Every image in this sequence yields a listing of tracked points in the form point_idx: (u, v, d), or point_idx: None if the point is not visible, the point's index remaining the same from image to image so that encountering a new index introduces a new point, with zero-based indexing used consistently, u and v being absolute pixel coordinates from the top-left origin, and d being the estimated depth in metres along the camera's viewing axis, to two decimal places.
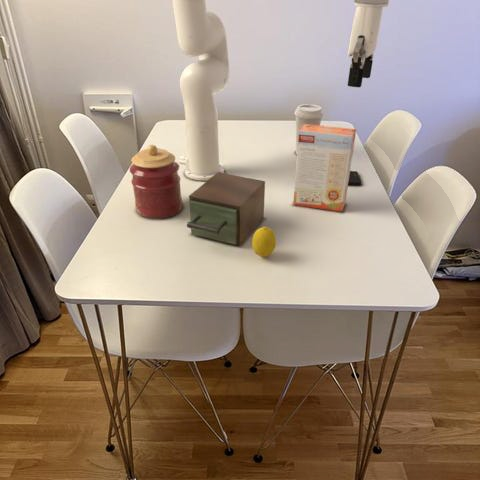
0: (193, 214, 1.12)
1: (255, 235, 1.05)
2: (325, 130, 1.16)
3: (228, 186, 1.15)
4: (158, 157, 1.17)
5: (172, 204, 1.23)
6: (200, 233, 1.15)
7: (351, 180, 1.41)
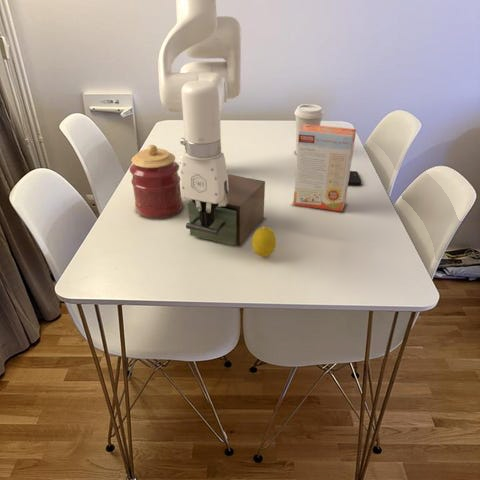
0: (192, 215, 1.12)
1: (255, 235, 1.05)
2: (325, 130, 1.16)
3: (228, 186, 1.15)
4: (158, 157, 1.17)
5: (172, 204, 1.23)
6: (199, 234, 1.15)
7: (351, 180, 1.41)
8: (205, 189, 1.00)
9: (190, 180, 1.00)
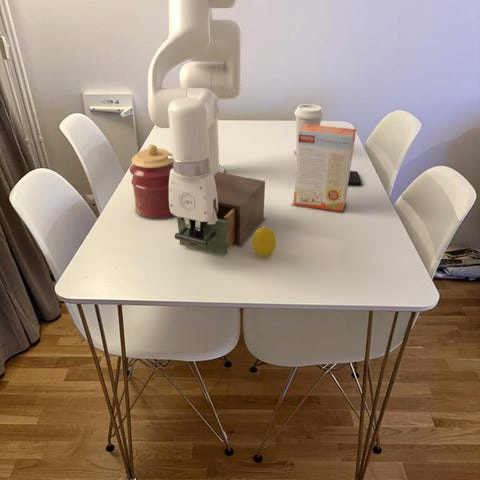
0: (181, 225, 1.08)
1: (255, 235, 1.05)
2: (325, 130, 1.16)
3: (228, 186, 1.15)
4: (158, 157, 1.17)
5: None
6: (189, 244, 1.11)
7: (351, 180, 1.41)
8: (193, 208, 0.98)
9: (178, 198, 0.98)
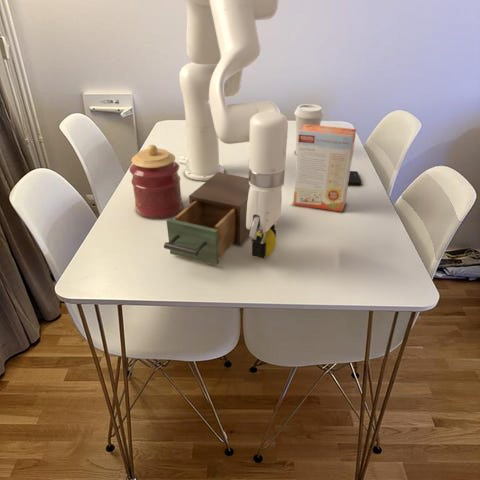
0: (171, 233, 1.05)
1: None
2: (325, 130, 1.16)
3: (228, 186, 1.15)
4: (158, 157, 1.17)
5: (172, 204, 1.23)
6: (179, 253, 1.08)
7: (351, 180, 1.41)
8: None
9: None
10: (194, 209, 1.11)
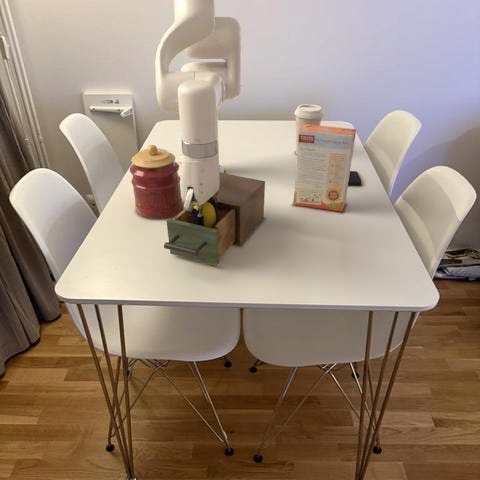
0: (171, 233, 1.05)
1: None
2: (325, 130, 1.16)
3: (228, 186, 1.15)
4: (158, 157, 1.17)
5: (172, 204, 1.23)
6: (179, 253, 1.08)
7: (351, 180, 1.41)
8: None
9: None
10: None
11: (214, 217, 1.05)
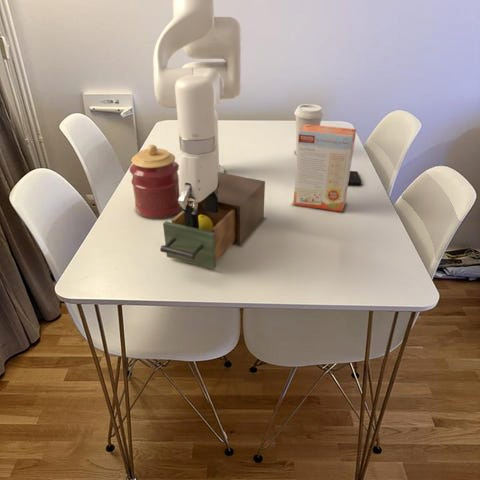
0: (168, 236, 1.04)
1: None
2: (325, 130, 1.16)
3: (228, 186, 1.15)
4: (158, 157, 1.17)
5: (172, 204, 1.23)
6: (176, 256, 1.07)
7: (351, 180, 1.41)
8: None
9: None
10: None
11: None
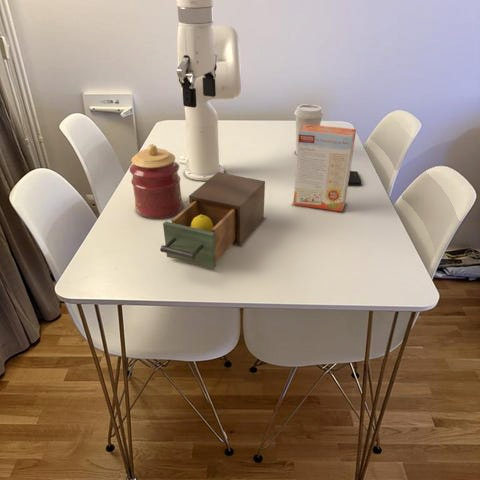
0: (168, 236, 1.04)
1: (192, 223, 1.06)
2: (325, 130, 1.16)
3: (228, 186, 1.15)
4: (158, 157, 1.17)
5: (172, 204, 1.23)
6: (176, 256, 1.07)
7: (351, 180, 1.41)
8: None
9: None
10: (191, 212, 1.10)
11: None
